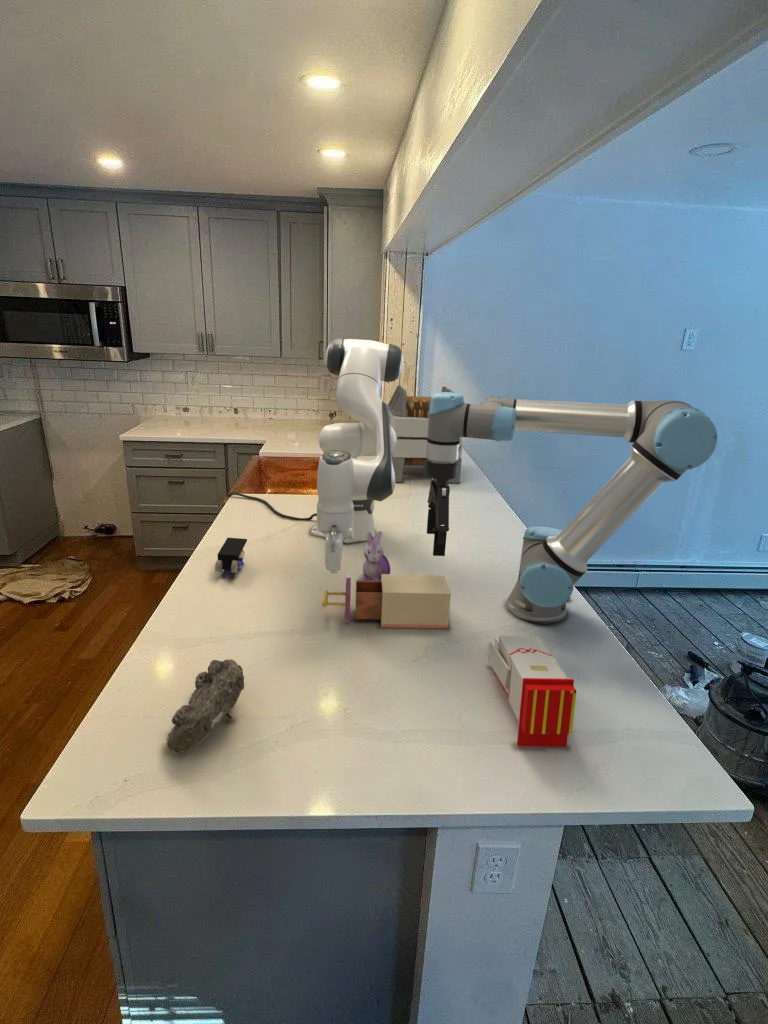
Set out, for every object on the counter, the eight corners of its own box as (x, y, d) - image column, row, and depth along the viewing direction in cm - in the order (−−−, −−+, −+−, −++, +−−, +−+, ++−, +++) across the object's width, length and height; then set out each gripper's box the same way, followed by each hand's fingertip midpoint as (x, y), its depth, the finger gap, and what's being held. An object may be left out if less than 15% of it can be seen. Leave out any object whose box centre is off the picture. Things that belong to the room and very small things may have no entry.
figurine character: (238, 584, 162) (249, 557, 175) (236, 562, 158) (247, 536, 172) (215, 584, 161) (227, 556, 175) (212, 561, 158) (225, 535, 171)
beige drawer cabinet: (380, 627, 141) (382, 592, 138) (379, 606, 151) (381, 573, 147) (447, 628, 142) (450, 593, 139) (442, 608, 151) (445, 575, 148)
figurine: (368, 590, 159) (370, 541, 153) (353, 575, 167) (354, 528, 162) (398, 584, 163) (401, 536, 158) (382, 570, 171) (384, 524, 166)
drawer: (321, 621, 141) (321, 593, 138) (323, 603, 149) (323, 577, 146) (406, 622, 142) (408, 595, 139) (404, 605, 150) (405, 578, 147)
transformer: (382, 463, 289) (386, 382, 275) (445, 464, 293) (451, 384, 279) (390, 482, 257) (394, 392, 243) (460, 483, 261) (468, 394, 247)
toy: (536, 619, 129) (586, 686, 99) (531, 673, 131) (578, 754, 102) (483, 618, 128) (517, 685, 99) (479, 672, 131) (511, 753, 102)
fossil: (192, 660, 117) (244, 628, 112) (224, 691, 120) (276, 661, 115) (142, 746, 98) (202, 712, 93) (182, 779, 101) (242, 748, 96)
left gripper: (347, 535, 127) (346, 590, 131) (349, 505, 146) (348, 554, 150) (318, 534, 126) (318, 590, 131) (324, 504, 145) (324, 554, 150)
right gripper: (467, 475, 121) (458, 566, 128) (450, 448, 144) (443, 525, 151) (432, 474, 120) (425, 565, 128) (420, 447, 144) (415, 525, 151)
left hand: (334, 571), depth 141 cm, fingers closed
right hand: (435, 544), depth 139 cm, fingers open, 13 cm apart
